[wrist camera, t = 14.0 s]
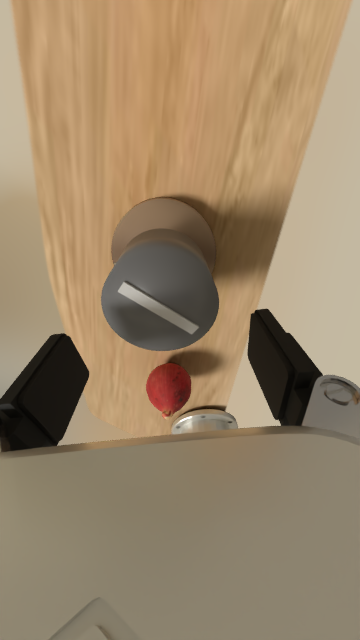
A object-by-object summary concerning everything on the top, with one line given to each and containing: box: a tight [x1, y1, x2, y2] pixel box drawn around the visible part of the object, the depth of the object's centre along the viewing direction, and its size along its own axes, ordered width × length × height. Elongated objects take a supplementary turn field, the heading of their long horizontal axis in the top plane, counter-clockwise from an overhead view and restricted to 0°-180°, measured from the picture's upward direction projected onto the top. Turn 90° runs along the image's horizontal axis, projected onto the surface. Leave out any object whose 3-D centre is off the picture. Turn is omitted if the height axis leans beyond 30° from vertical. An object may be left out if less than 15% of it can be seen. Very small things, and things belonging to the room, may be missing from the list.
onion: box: [146, 363, 191, 419], centre depth 26 cm, size 6×6×8 cm
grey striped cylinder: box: [101, 228, 219, 351], centre depth 14 cm, size 7×8×5 cm
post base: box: [112, 197, 216, 274], centre depth 18 cm, size 10×10×5 cm
